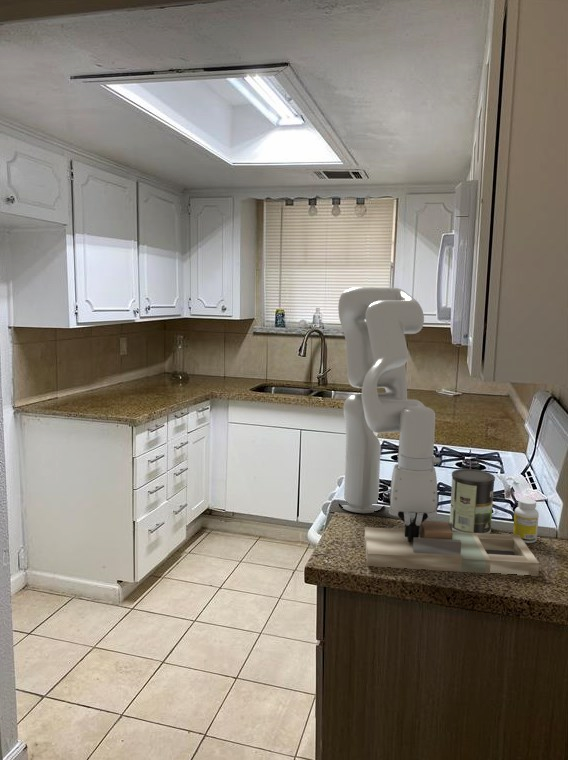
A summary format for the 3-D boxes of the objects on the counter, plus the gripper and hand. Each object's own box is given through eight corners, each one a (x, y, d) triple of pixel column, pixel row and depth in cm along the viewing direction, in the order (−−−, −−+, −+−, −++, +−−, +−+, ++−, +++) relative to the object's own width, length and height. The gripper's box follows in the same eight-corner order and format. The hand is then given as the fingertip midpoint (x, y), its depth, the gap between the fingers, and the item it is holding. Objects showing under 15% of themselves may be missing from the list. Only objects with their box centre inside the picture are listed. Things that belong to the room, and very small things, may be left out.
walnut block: (419, 537, 134) (420, 521, 133) (446, 538, 133) (447, 522, 133) (424, 549, 128) (424, 531, 127) (451, 550, 127) (452, 533, 127)
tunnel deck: (364, 538, 140) (365, 515, 139) (518, 547, 136) (520, 523, 135) (367, 566, 126) (368, 540, 125) (538, 576, 123) (540, 549, 122)
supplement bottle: (518, 532, 145) (521, 495, 143) (540, 539, 141) (543, 500, 139) (508, 538, 141) (511, 500, 140) (530, 545, 137) (534, 506, 136)
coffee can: (487, 522, 151) (491, 470, 149) (493, 538, 141) (498, 483, 139) (447, 518, 153) (450, 467, 151) (450, 534, 143) (453, 479, 141)
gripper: (446, 458, 131) (442, 535, 134) (380, 455, 133) (377, 531, 136) (452, 468, 124) (447, 549, 127) (382, 465, 125) (378, 545, 128)
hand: (411, 539), depth 131 cm, fingers closed
